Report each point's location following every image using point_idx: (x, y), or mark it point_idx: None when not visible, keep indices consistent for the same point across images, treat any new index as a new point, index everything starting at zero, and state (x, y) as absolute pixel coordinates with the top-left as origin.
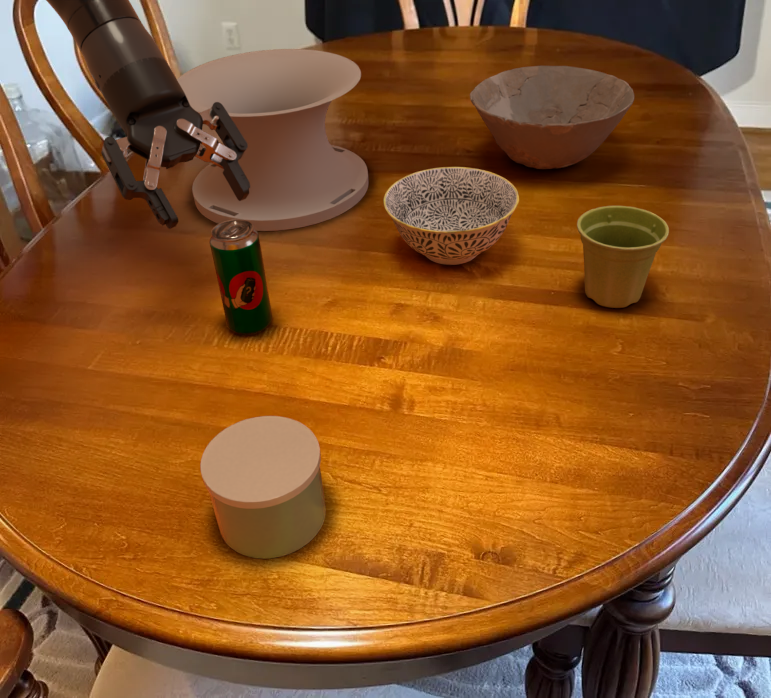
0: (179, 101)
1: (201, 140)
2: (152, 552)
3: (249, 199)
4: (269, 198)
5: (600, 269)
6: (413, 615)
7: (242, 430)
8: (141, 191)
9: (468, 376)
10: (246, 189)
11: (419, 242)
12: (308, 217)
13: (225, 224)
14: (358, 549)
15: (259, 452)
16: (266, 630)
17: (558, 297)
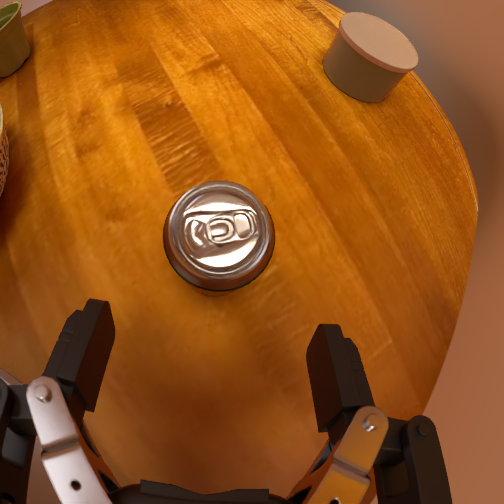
0: None
1: (100, 489)
2: (423, 117)
3: None
4: None
5: (19, 33)
6: (330, 8)
7: (382, 55)
8: (391, 418)
9: (148, 50)
10: (94, 300)
11: (4, 157)
12: (12, 383)
13: (215, 262)
14: (329, 32)
15: (380, 39)
16: None
17: (24, 77)
